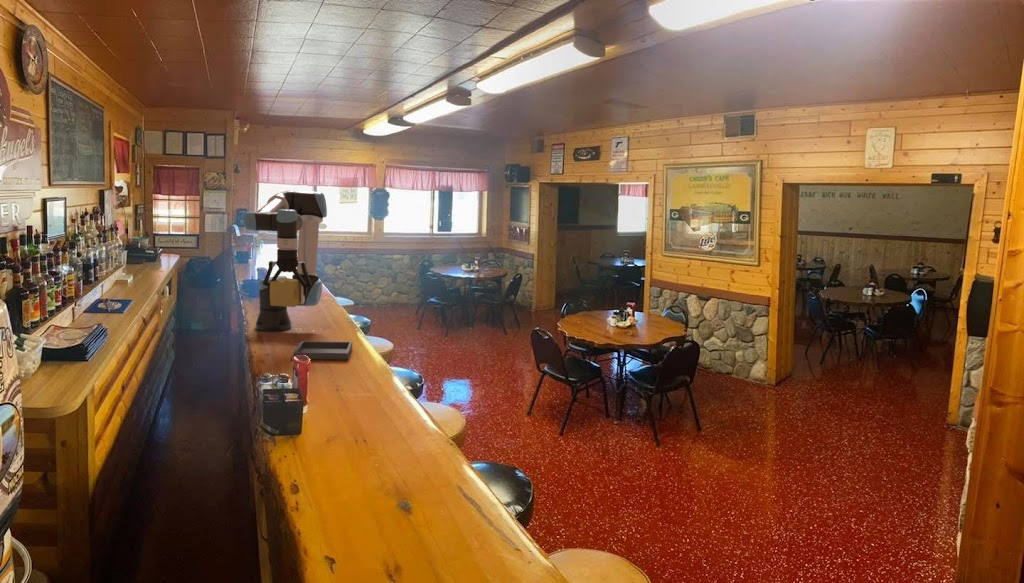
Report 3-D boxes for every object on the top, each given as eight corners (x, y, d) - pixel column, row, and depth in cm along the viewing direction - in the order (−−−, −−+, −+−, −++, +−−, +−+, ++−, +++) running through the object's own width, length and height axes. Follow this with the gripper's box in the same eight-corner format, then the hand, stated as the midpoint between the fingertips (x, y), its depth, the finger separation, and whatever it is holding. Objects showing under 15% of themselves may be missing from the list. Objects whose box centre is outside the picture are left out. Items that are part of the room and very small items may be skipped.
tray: (301, 348, 261) (301, 341, 261) (352, 348, 264) (352, 341, 264) (293, 360, 244) (293, 352, 243) (347, 360, 247) (347, 353, 246)
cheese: (305, 303, 265) (305, 278, 263) (293, 307, 254) (293, 282, 252) (280, 301, 266) (280, 277, 264) (268, 306, 255) (268, 281, 253)
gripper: (254, 248, 251) (254, 304, 254) (316, 250, 254) (316, 305, 258) (258, 246, 258) (259, 300, 262) (319, 248, 262) (319, 301, 265)
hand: (287, 303), depth 260 cm, fingers closed on cheese, 11 cm apart
